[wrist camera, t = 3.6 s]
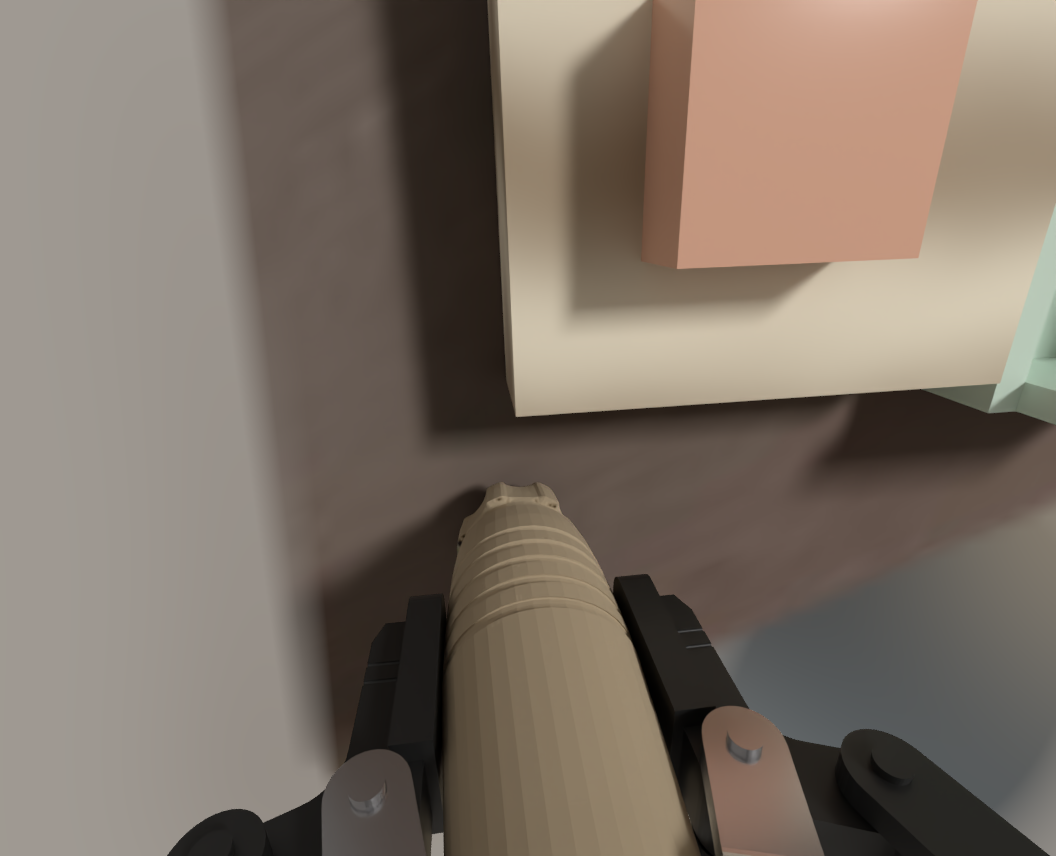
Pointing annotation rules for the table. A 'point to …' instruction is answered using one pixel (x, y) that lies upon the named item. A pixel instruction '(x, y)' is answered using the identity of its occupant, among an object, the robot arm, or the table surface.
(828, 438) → the table surface
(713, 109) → the tile
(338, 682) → the table surface
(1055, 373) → the box
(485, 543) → the handle
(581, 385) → the cream flat slab
